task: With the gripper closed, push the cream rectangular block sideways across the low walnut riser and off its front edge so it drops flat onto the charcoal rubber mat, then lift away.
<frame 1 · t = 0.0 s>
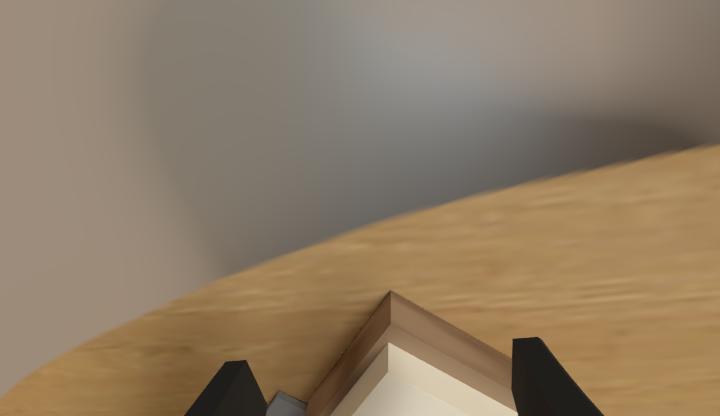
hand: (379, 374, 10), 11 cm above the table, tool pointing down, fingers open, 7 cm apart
riser: (415, 386, 24), on the table
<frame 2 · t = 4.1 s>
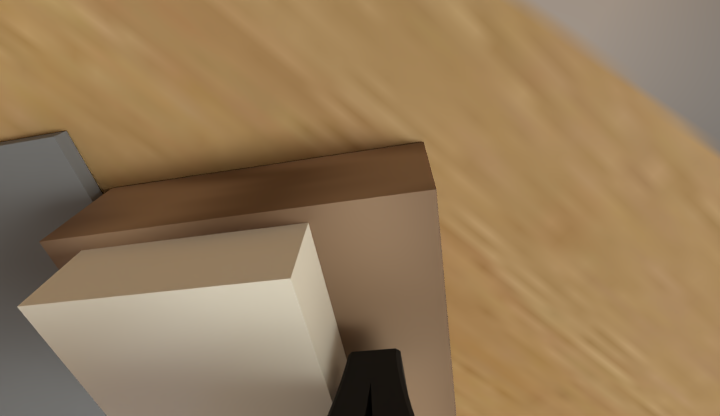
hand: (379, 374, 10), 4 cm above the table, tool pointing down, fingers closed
riser: (299, 289, 14), on the table
mat: (37, 335, 16), on the table
cream rectangular block: (247, 359, 12), point 3 cm above the table, touching gripper, riser
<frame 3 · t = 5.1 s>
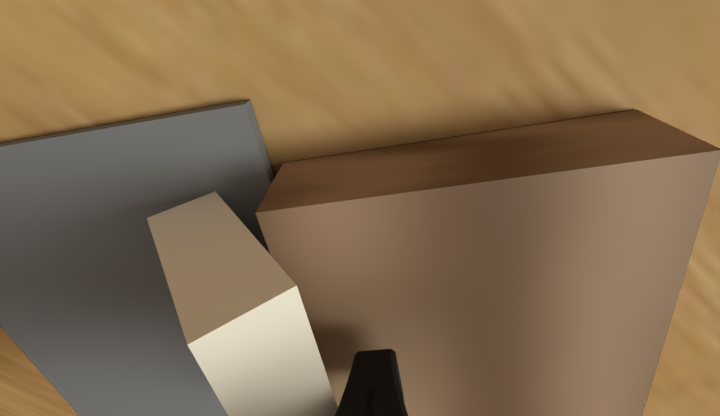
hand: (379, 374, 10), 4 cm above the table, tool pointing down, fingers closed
riser: (458, 272, 13), on the table
mat: (164, 323, 15), on the table
cream rectangular block: (293, 351, 12), point 3 cm above the table, tilted 54°, touching gripper, mat
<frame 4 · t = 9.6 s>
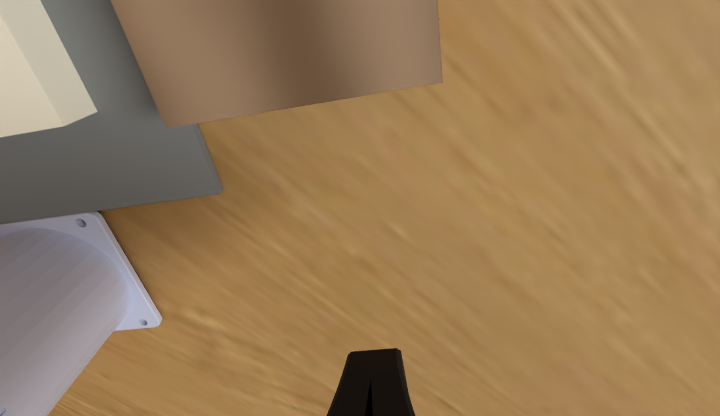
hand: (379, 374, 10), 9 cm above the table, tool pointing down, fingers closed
mat: (9, 35, 16), on the table
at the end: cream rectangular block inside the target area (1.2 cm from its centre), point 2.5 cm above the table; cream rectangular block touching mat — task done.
